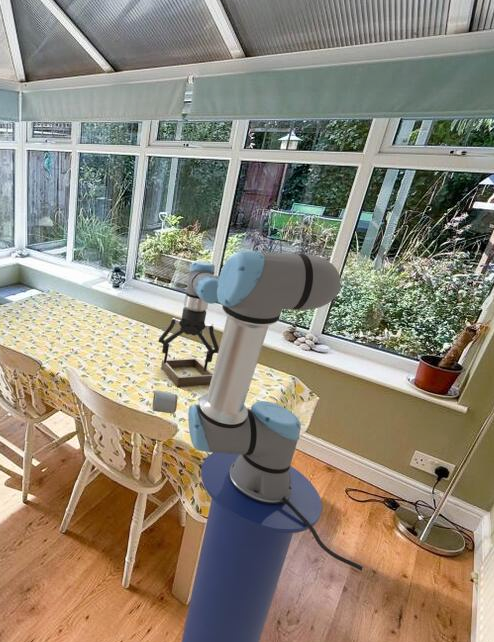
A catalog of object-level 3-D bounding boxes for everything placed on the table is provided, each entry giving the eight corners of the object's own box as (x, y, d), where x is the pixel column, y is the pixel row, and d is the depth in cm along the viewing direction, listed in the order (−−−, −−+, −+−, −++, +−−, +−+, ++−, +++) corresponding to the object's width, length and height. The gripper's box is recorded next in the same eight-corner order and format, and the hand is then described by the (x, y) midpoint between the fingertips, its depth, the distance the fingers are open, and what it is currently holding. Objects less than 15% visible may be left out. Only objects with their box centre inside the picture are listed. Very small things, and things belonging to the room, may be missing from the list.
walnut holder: (213, 385, 169) (215, 375, 167) (176, 388, 166) (178, 377, 164) (194, 367, 184) (195, 358, 182) (160, 369, 181) (162, 360, 179)
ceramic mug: (175, 418, 146) (178, 399, 144) (152, 415, 148) (154, 396, 145) (173, 401, 156) (176, 384, 153) (151, 399, 157) (153, 381, 155)
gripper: (234, 311, 137) (222, 368, 144) (158, 299, 145) (150, 354, 151) (235, 317, 130) (222, 377, 137) (156, 305, 138) (147, 362, 145)
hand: (184, 365), depth 144 cm, fingers open, 13 cm apart
